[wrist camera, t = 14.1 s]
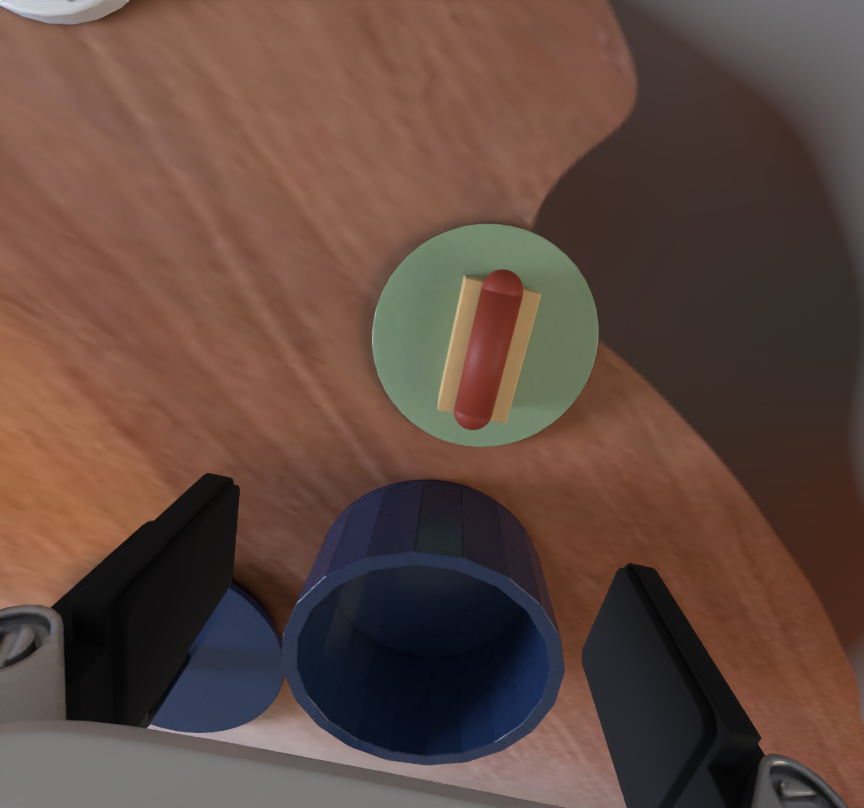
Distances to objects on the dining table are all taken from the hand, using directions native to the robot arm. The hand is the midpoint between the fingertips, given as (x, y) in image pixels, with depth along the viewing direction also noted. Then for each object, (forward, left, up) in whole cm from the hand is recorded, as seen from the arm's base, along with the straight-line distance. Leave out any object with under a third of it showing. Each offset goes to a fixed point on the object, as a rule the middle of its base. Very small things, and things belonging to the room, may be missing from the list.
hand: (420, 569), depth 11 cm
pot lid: (+16, -22, -15) cm, 31 cm away
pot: (+13, -3, -16) cm, 21 cm away
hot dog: (-2, +3, -15) cm, 15 cm away
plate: (-2, +3, -16) cm, 16 cm away
